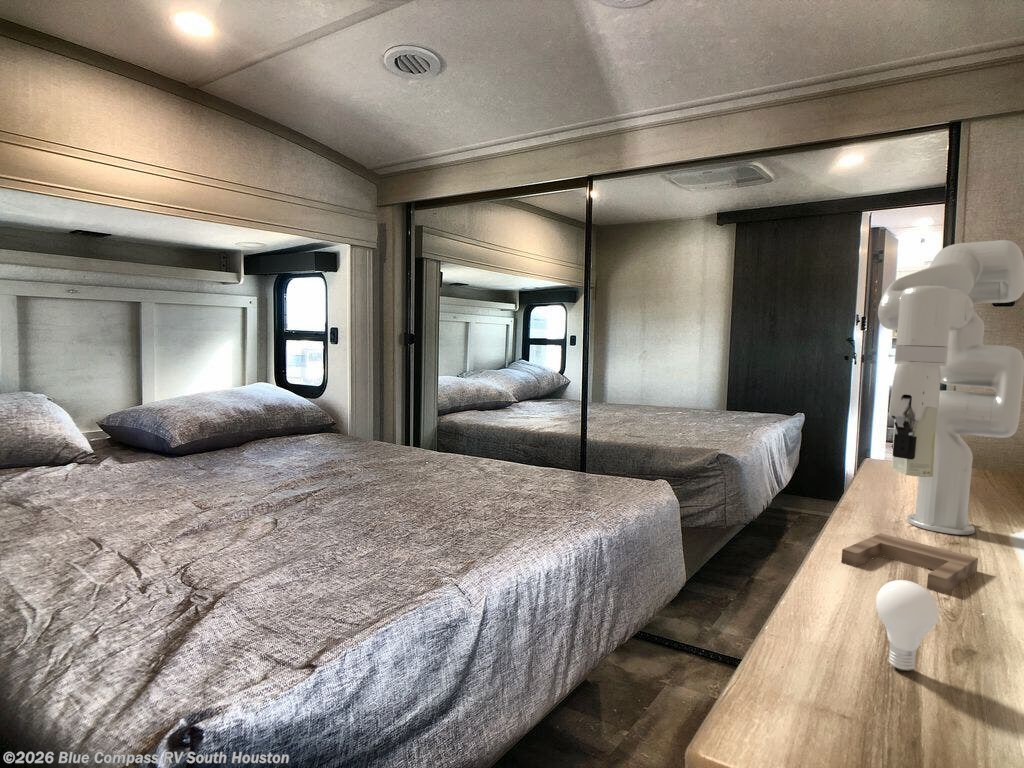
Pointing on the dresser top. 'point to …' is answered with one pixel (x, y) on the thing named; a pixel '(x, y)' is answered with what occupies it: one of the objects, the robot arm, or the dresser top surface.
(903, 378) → the robot arm
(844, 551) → the notched board
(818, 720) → the dresser top surface
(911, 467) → the skincare box
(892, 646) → the lightbulb
